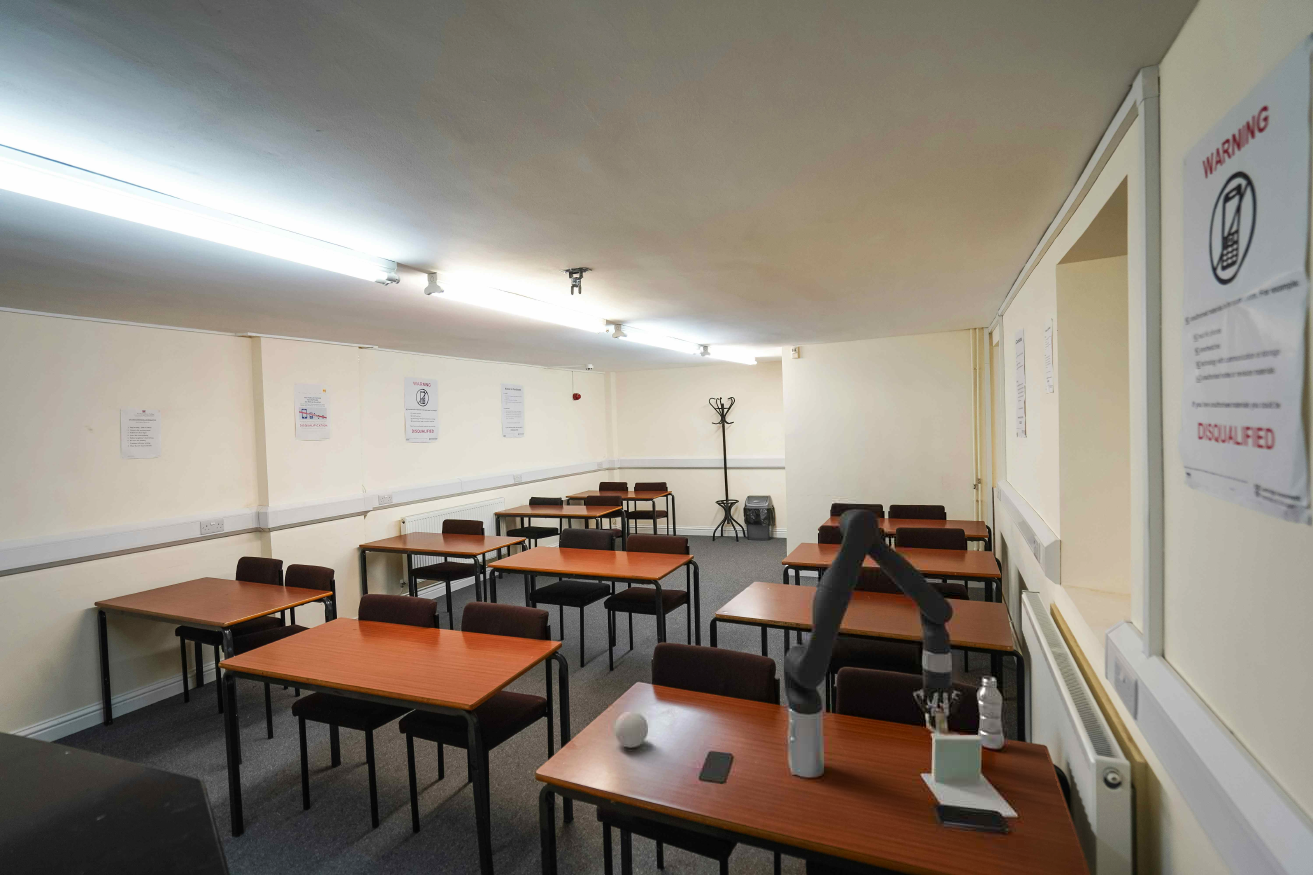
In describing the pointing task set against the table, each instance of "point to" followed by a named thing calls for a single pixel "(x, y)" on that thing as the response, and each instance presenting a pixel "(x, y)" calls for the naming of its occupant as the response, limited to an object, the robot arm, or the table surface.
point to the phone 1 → (716, 767)
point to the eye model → (631, 729)
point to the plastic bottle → (990, 714)
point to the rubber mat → (969, 795)
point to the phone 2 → (971, 818)
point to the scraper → (939, 723)
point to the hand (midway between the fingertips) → (938, 727)
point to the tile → (956, 758)
